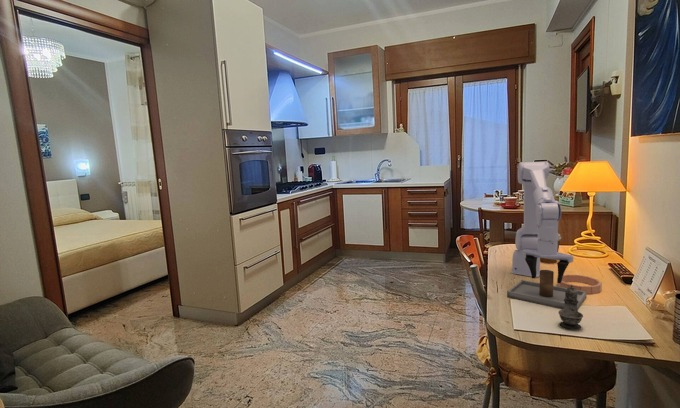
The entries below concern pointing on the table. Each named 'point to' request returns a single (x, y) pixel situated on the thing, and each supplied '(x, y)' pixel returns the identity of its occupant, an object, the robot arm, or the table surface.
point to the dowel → (546, 283)
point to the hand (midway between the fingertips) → (546, 279)
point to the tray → (531, 294)
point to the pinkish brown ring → (594, 282)
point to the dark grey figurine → (570, 311)
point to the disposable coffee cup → (551, 259)
